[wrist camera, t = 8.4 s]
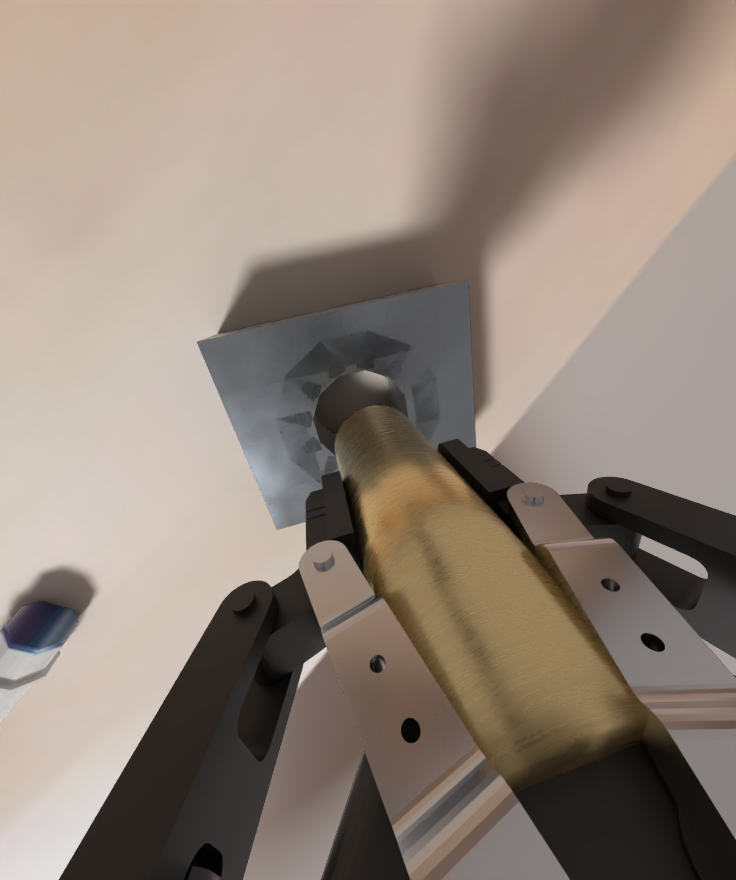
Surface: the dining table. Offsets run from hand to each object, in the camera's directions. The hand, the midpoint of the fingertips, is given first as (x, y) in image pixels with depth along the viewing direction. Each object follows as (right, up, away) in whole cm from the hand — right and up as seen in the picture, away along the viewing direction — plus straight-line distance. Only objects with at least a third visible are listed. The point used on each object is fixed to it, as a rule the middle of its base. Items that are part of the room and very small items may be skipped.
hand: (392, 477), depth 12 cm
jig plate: (-2, +4, +10) cm, 11 cm away
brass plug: (-1, +1, +3) cm, 3 cm away
